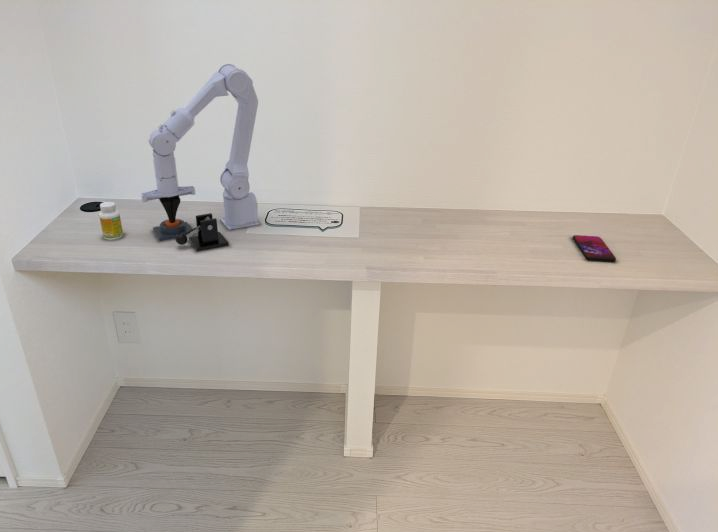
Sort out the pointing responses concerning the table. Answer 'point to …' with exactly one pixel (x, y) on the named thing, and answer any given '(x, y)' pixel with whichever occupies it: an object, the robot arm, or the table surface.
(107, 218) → the supplement bottle
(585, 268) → the table surface
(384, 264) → the table surface
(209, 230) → the switch bracket
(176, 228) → the button box
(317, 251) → the table surface
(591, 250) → the smartphone
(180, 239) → the switch lever
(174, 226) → the button
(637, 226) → the table surface
